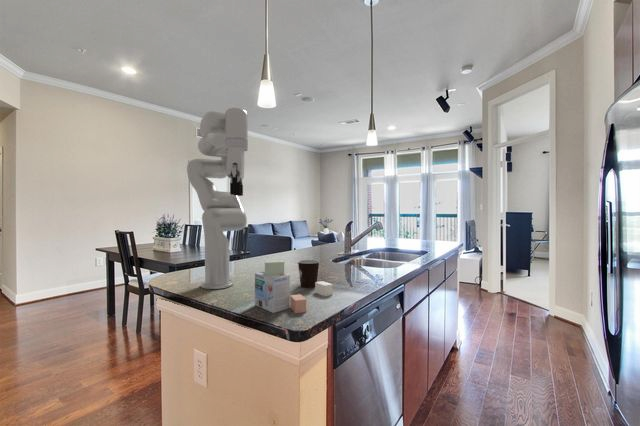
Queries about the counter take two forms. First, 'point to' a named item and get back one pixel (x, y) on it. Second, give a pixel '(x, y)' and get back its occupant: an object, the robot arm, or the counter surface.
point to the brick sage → (274, 267)
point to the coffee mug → (308, 272)
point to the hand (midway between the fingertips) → (236, 195)
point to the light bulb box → (272, 291)
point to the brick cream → (323, 288)
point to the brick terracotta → (298, 303)
